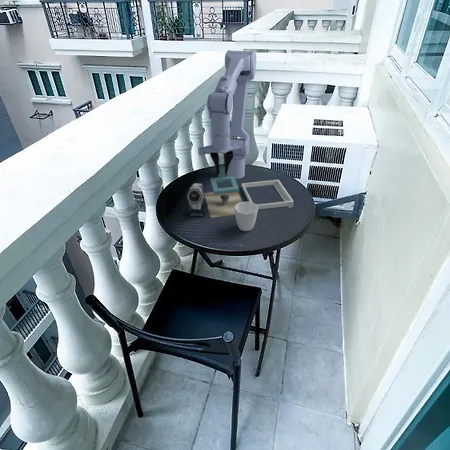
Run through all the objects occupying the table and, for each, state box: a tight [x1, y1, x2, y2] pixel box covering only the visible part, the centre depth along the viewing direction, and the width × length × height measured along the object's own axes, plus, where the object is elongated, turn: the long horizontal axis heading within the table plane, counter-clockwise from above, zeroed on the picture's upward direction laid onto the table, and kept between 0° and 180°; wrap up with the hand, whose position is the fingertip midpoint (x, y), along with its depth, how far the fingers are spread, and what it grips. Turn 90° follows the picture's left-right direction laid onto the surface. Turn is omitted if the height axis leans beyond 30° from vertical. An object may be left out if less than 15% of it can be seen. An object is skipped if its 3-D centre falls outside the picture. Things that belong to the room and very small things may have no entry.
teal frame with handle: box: [210, 163, 240, 195], centre depth 107 cm, size 10×8×5 cm
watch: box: [186, 183, 209, 218], centre depth 104 cm, size 6×8×11 cm
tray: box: [241, 179, 295, 211], centre depth 115 cm, size 16×14×2 cm
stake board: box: [203, 191, 243, 218], centre depth 111 cm, size 16×12×4 cm
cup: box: [234, 200, 259, 232], centre depth 99 cm, size 7×10×8 cm
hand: (221, 173), depth 110 cm, fingers closed on teal frame with handle
